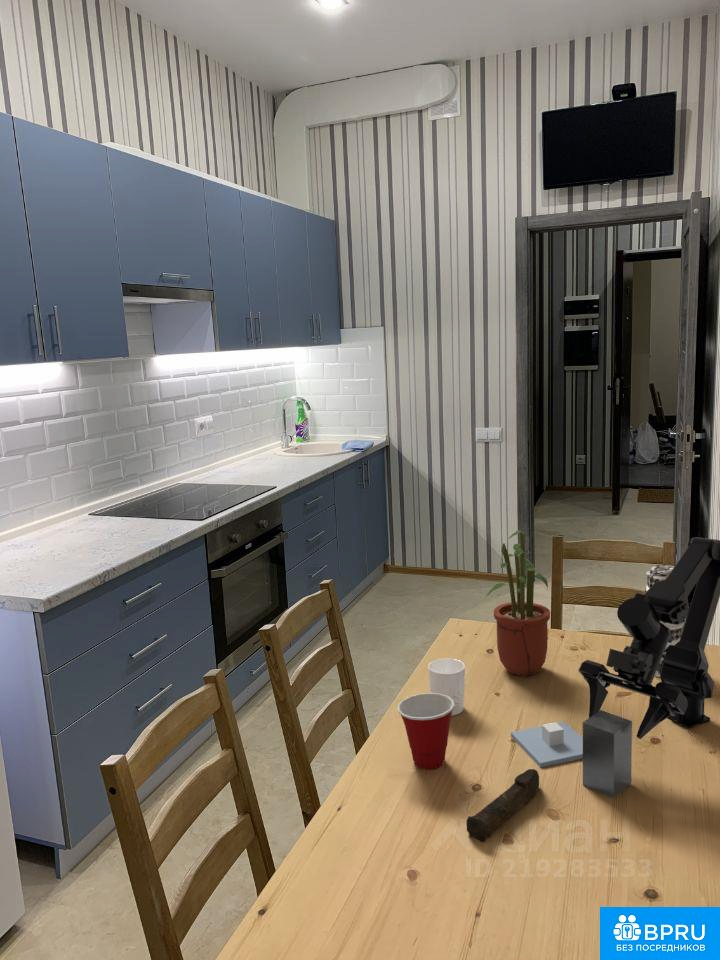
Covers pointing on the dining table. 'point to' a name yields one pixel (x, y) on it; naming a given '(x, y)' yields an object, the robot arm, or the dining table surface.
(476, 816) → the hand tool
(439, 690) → the white cup
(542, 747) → the base block
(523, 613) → the potted plant
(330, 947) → the dining table surface
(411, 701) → the plastic cup
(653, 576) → the decorative candle
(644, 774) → the dining table surface
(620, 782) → the grey block
